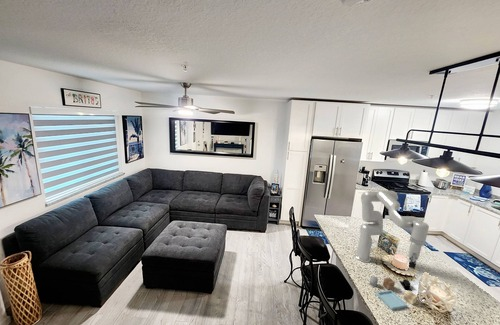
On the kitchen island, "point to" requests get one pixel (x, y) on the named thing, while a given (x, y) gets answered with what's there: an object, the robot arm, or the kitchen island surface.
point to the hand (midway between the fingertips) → (411, 264)
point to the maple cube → (410, 297)
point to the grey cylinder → (373, 281)
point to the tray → (391, 300)
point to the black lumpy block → (406, 285)
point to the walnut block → (388, 283)
